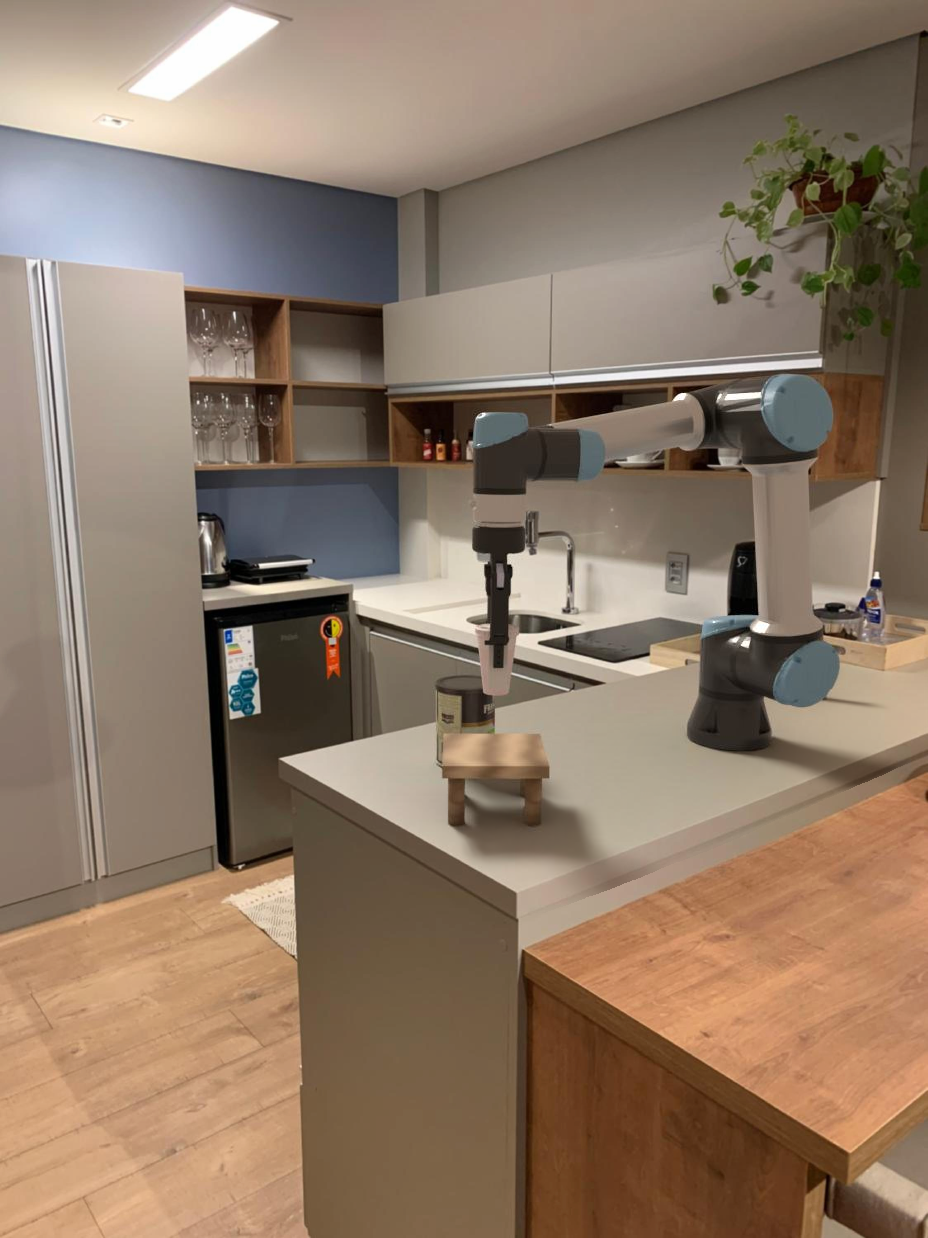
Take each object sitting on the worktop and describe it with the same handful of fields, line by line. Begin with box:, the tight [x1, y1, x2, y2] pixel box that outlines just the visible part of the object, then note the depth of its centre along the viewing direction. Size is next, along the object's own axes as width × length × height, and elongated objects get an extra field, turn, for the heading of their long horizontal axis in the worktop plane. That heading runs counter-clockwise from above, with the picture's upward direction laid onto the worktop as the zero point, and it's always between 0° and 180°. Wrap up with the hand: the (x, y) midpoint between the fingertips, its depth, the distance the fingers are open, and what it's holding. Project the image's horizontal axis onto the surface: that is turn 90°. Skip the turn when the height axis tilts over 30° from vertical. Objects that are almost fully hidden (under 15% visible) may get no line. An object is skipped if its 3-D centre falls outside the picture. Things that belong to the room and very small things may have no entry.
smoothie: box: [474, 623, 520, 697], centre depth 135 cm, size 6×6×14 cm
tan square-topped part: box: [441, 733, 551, 827], centre depth 139 cm, size 15×15×9 cm
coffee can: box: [434, 674, 496, 768], centre depth 159 cm, size 10×10×14 cm
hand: (496, 682), depth 136 cm, fingers closed on smoothie, 6 cm apart
